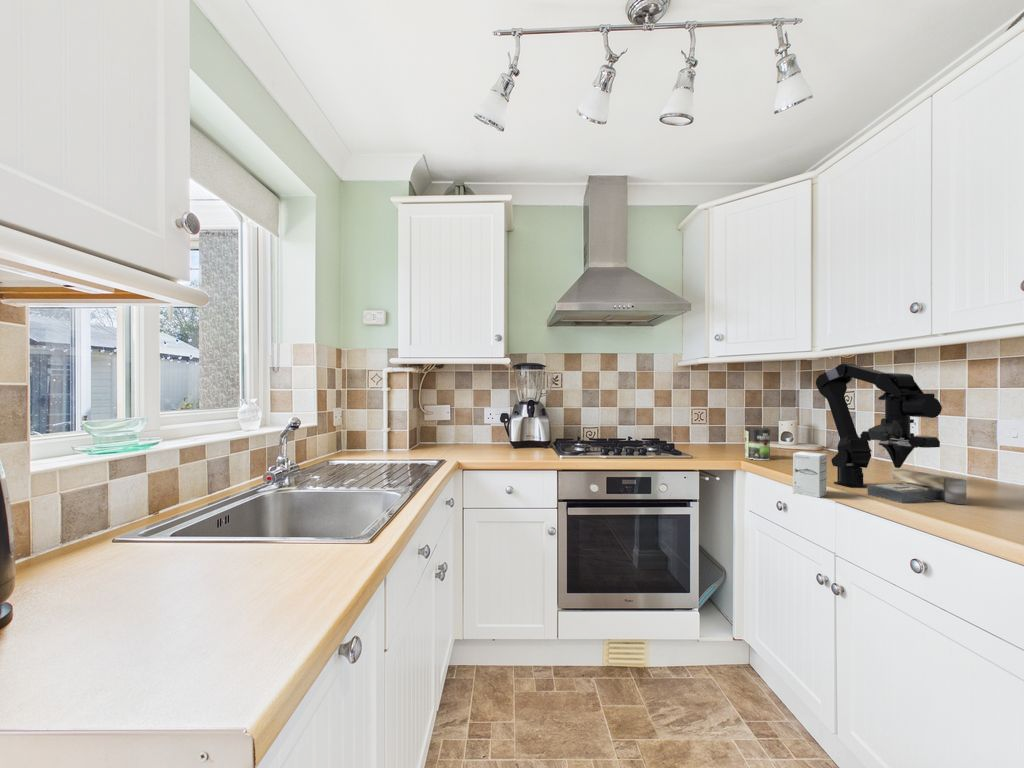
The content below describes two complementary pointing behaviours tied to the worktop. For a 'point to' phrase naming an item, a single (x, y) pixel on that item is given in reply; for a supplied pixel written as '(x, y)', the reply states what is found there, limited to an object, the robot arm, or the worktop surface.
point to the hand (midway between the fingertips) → (897, 467)
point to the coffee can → (757, 443)
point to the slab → (906, 492)
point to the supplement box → (809, 474)
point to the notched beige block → (935, 483)
